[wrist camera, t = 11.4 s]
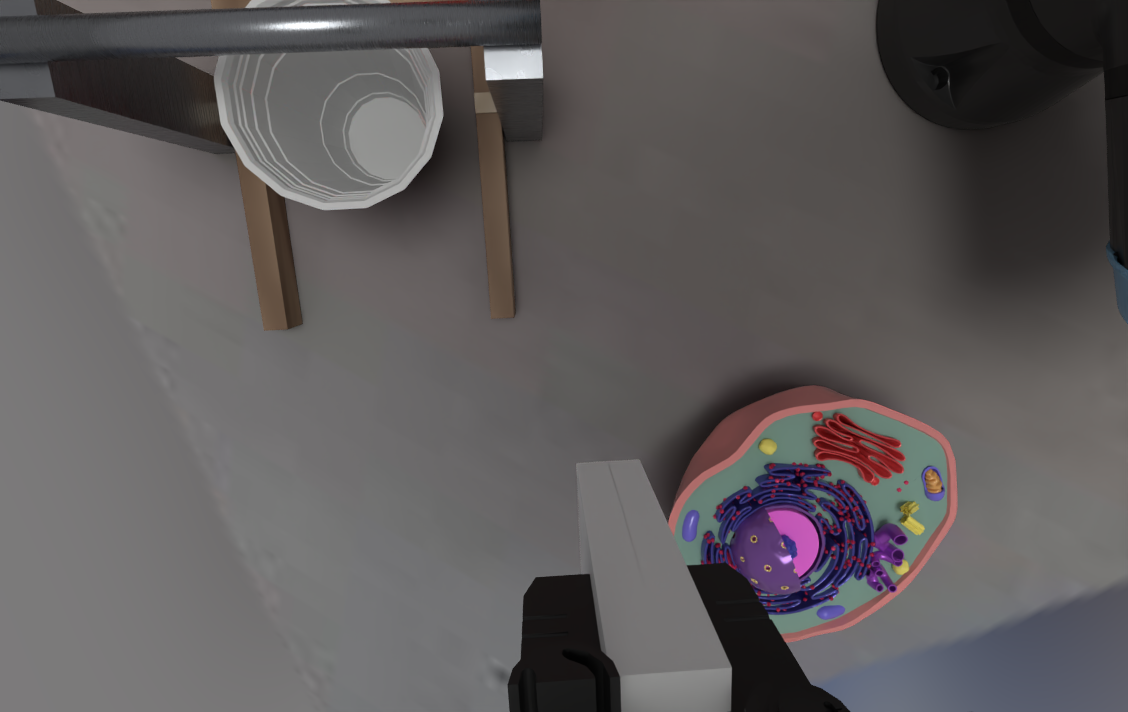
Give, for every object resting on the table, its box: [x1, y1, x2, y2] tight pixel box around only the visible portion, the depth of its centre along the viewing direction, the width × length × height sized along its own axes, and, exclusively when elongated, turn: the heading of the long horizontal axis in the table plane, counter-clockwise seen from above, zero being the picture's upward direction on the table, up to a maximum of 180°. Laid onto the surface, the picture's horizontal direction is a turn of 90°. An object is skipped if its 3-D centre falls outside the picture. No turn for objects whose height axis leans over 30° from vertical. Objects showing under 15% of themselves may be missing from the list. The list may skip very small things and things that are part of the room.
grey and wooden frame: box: [0, 0, 543, 331], centre depth 31 cm, size 22×22×17 cm
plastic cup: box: [214, 0, 443, 210], centre depth 33 cm, size 11×11×12 cm
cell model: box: [668, 385, 957, 642], centre depth 40 cm, size 17×20×11 cm
